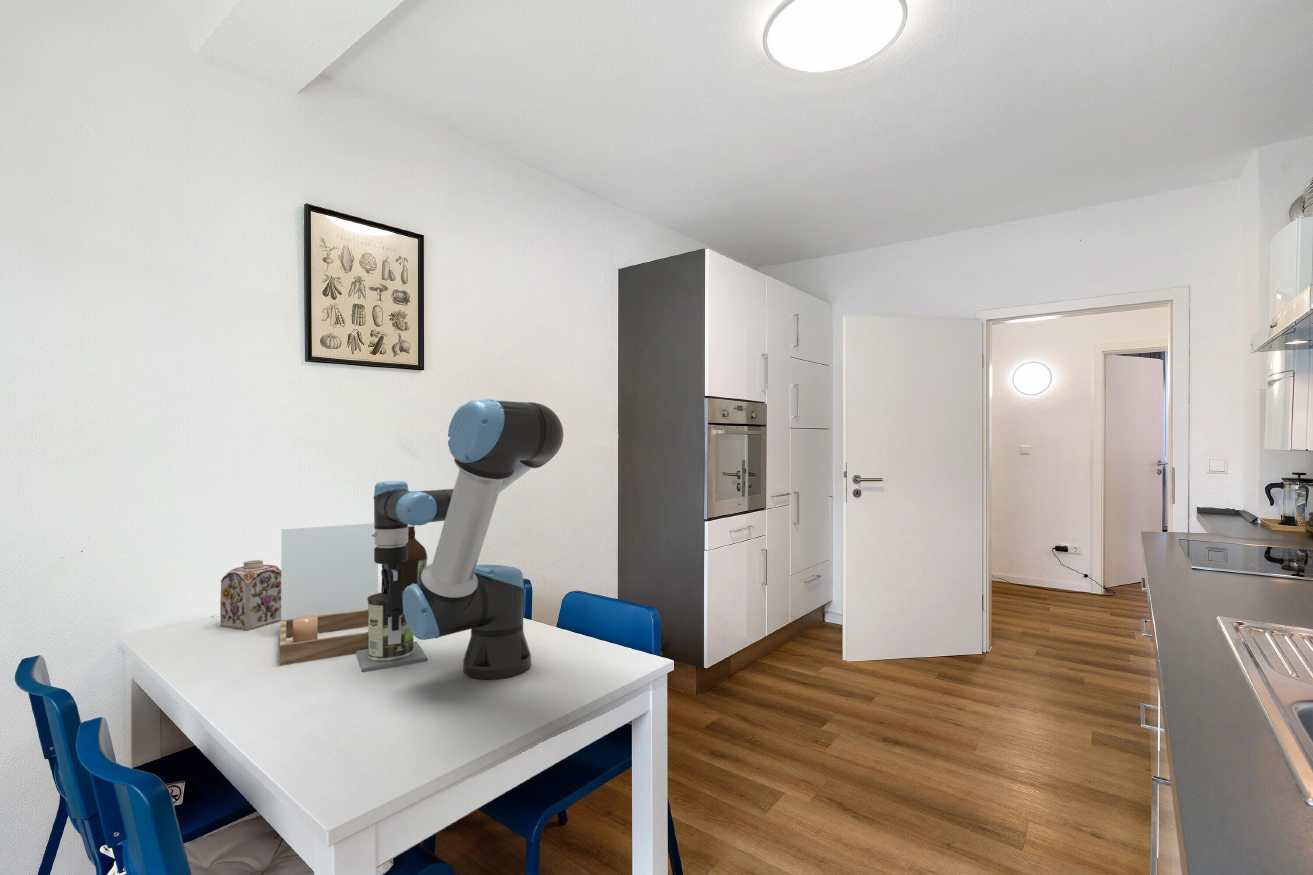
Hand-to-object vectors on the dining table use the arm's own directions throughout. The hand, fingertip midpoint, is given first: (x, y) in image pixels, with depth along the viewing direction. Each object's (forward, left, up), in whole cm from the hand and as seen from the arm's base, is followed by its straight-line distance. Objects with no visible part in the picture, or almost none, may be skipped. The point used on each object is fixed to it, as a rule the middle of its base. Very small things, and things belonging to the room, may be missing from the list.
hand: (391, 637), depth 148 cm
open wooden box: (+20, +11, -5) cm, 23 cm away
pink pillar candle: (+25, +18, -5) cm, 31 cm away
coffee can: (0, 0, -4) cm, 4 cm away
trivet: (0, 0, -5) cm, 5 cm away
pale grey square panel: (+35, +11, +11) cm, 39 cm away
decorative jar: (+52, +30, -5) cm, 60 cm away
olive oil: (+50, -12, -5) cm, 52 cm away
